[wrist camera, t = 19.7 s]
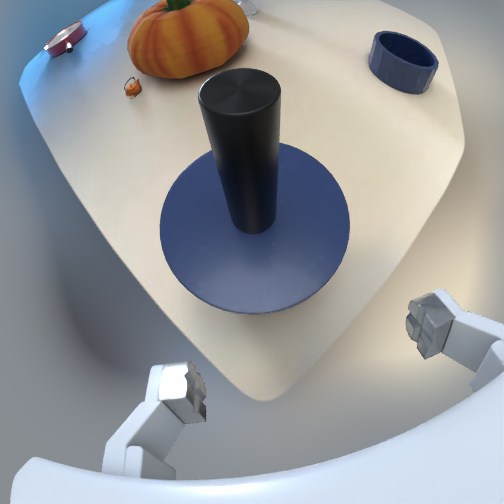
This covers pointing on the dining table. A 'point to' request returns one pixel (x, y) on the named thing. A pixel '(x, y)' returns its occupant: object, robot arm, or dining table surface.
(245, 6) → the chalice
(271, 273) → the lid
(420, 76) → the blue round container
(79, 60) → the dining table surface
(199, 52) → the pumpkin
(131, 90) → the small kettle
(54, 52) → the frying pan
